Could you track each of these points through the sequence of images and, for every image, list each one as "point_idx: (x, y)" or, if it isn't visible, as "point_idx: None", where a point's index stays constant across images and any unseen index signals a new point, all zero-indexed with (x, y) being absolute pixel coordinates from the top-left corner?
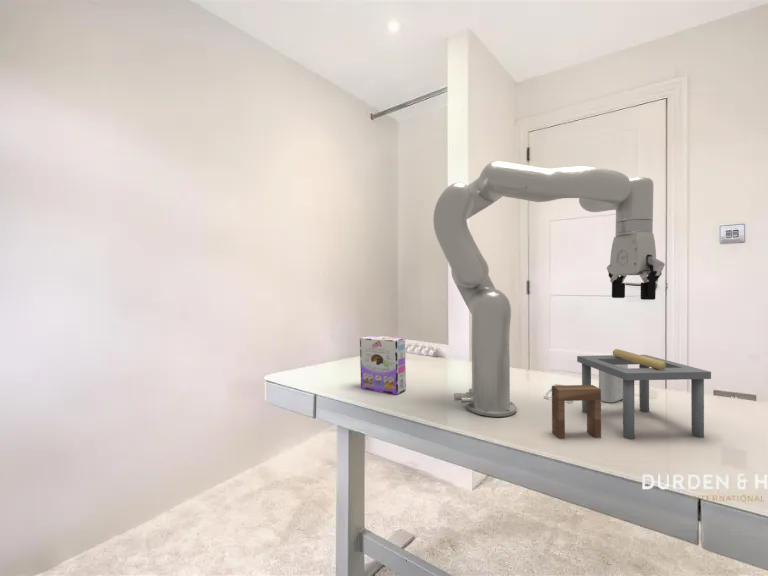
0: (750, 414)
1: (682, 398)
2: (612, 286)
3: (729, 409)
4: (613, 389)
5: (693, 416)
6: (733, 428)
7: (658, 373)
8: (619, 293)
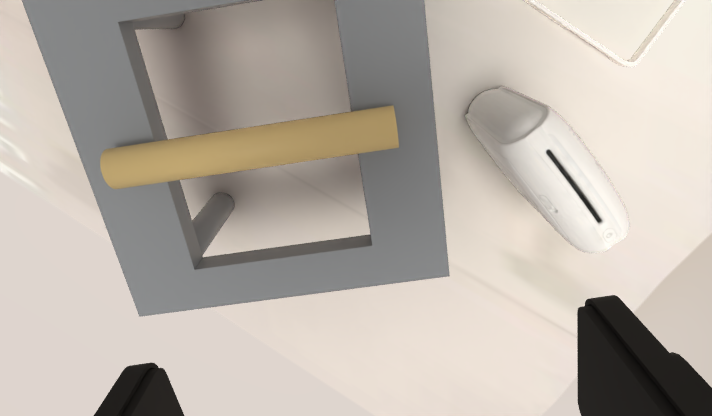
0: (388, 405)
1: (512, 341)
2: (694, 399)
3: (421, 388)
4: (476, 128)
5: (203, 211)
6: (286, 310)
7: (71, 126)
8: (599, 393)
